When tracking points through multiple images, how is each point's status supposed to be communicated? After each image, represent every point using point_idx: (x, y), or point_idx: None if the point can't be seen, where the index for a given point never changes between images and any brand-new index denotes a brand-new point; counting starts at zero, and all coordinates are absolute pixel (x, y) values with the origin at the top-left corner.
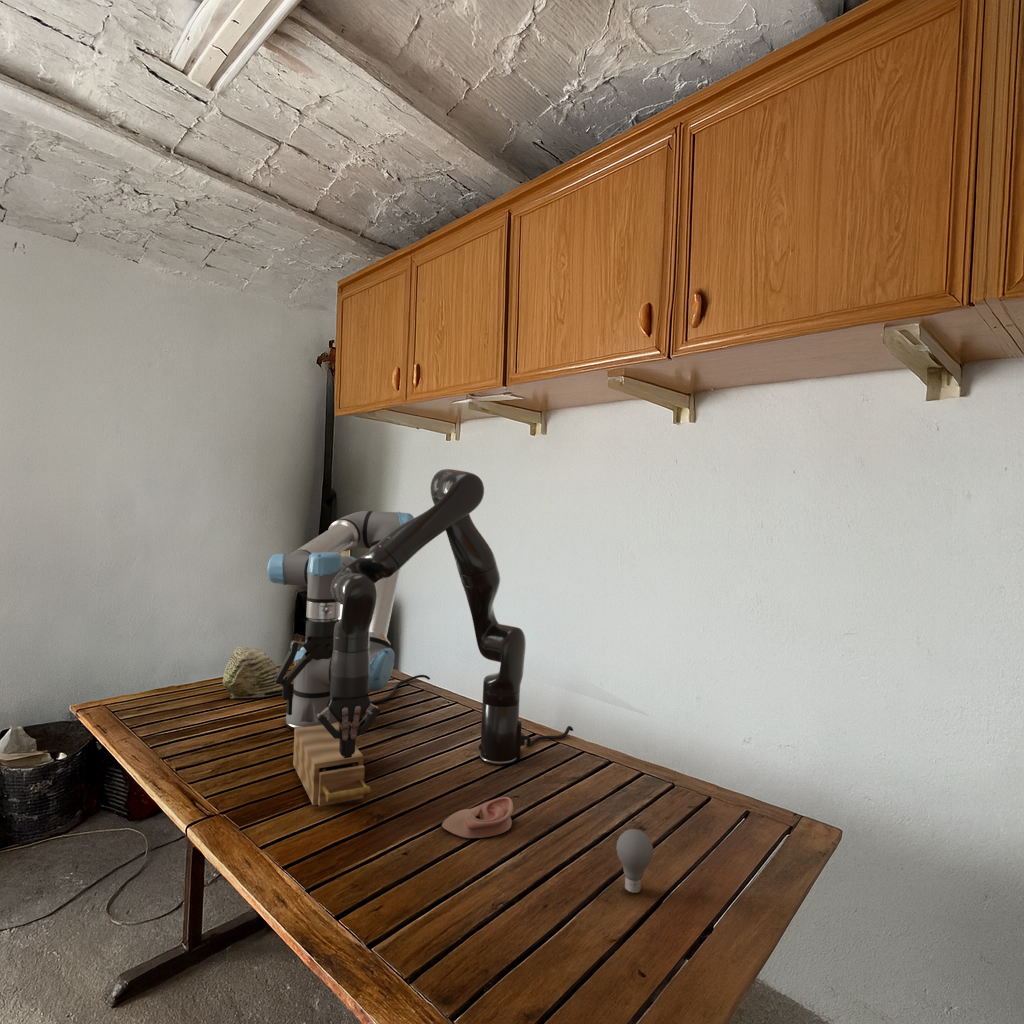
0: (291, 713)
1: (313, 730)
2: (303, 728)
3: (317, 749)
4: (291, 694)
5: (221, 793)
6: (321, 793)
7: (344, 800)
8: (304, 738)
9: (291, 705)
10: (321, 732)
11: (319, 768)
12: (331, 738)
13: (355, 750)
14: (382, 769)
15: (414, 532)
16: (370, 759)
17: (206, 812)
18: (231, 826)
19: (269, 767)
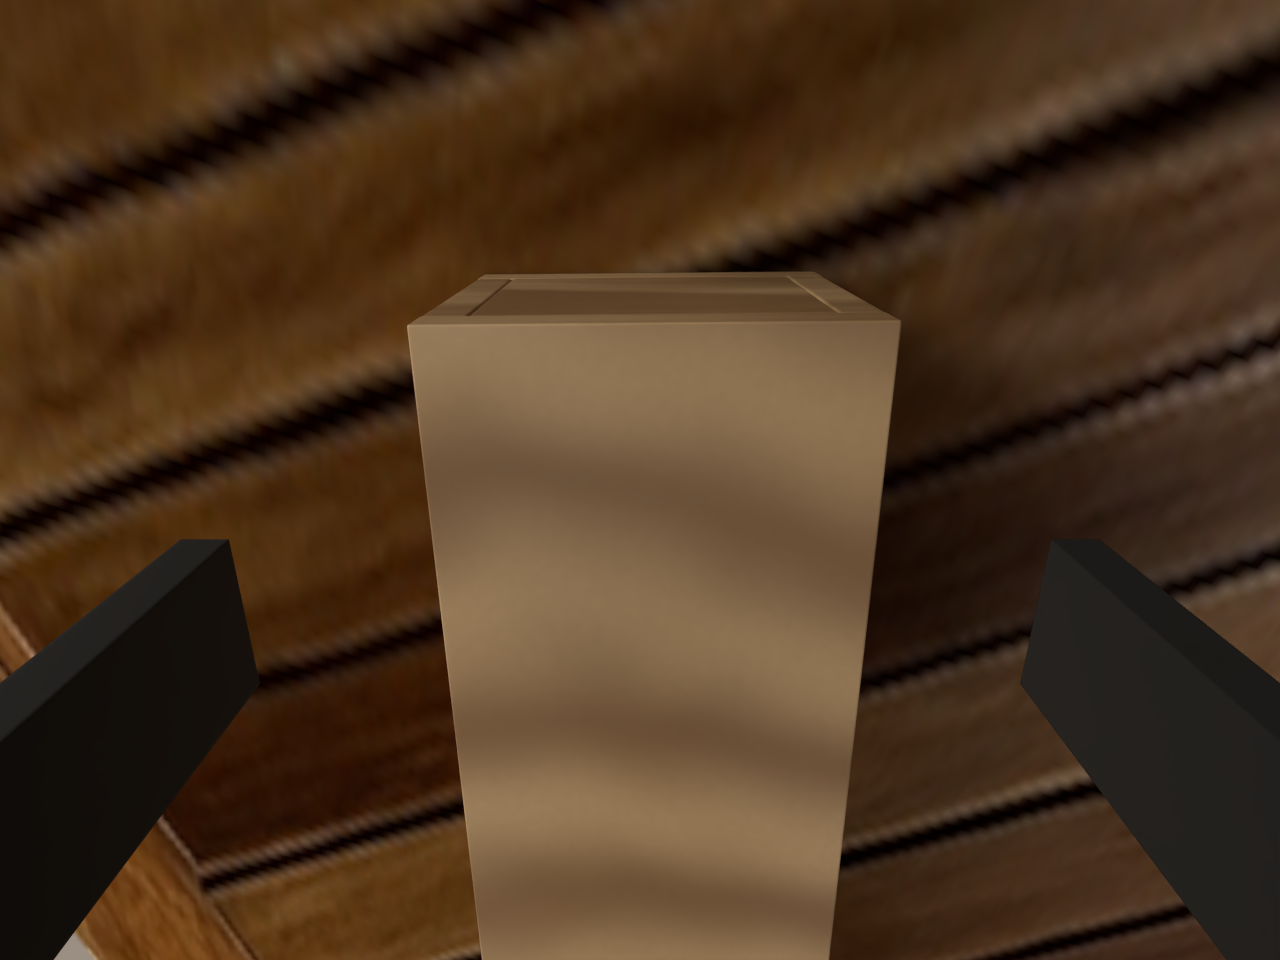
0: (245, 695)
1: (592, 458)
2: (500, 366)
3: (548, 854)
4: (50, 929)
5: (47, 531)
6: None
7: None
8: (478, 621)
9: (179, 778)
10: (656, 537)
11: None
12: (706, 699)
13: (805, 947)
14: (1017, 573)
15: None
16: (1024, 395)
17: None
18: (161, 854)
19: (315, 251)
